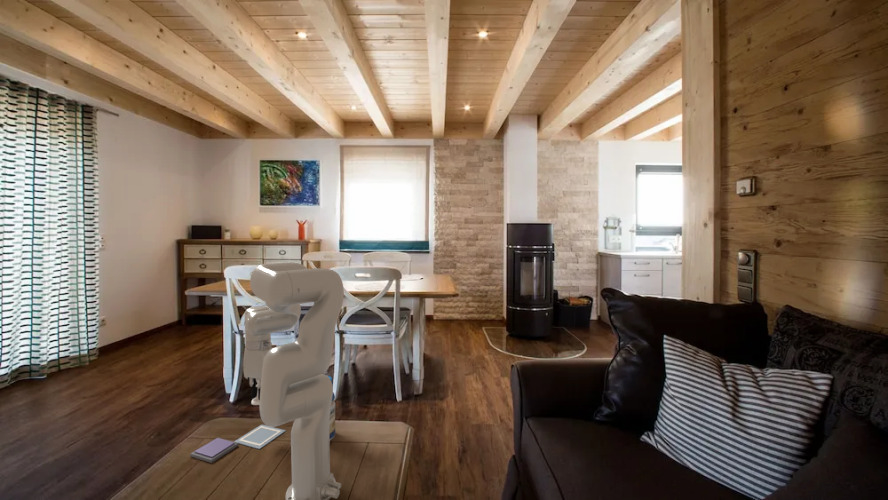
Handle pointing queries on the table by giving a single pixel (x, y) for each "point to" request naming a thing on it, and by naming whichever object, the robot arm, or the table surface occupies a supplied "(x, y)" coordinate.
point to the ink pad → (214, 450)
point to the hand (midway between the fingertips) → (259, 397)
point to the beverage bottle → (332, 416)
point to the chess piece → (256, 400)
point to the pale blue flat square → (260, 436)
